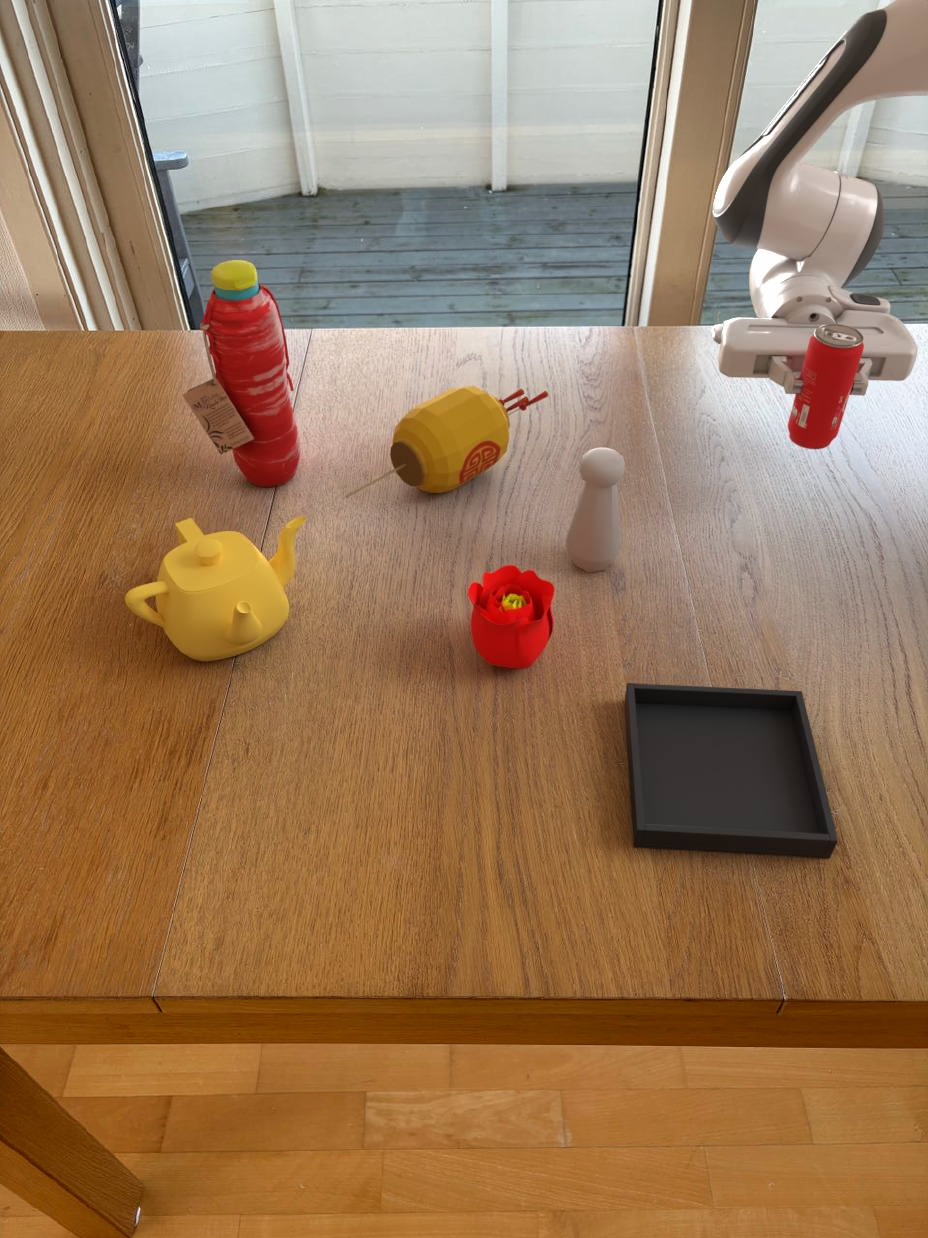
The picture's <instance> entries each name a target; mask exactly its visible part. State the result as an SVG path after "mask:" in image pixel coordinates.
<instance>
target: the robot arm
mask: <svg viewBox="0 0 928 1238" xmlns="http://www.w3.org/2000/svg"><path fill="white" fill-rule="evenodd" d="M900 97H928V0H893V2H891V3H889V4H888V5H886V6H885V7H883V8H881V9H876V10H872V11H869V12H866V13H863V15H861V16H860V17H858V18H857V19H856V20H855V21H854V22H853V23H852V24H851V25H850V26H849V27H848V28H847V30H846V31H844V32H843V34H842V35H841V36H840V37H839V38H838V39H837V41H835V43H834V44H833V45H832V46H831V47H830V48H829V50H828V51H827V52H826V53H825V55H824V56H823V57H822V58H820V60H819V62H818V63H817V64H816V65H815V67H814V68H813V69H812V70H811V72H810V73H809V74H808V75H807V77H806V78H805V79H804V80H803V81H802V82H801V84H800V85H799V87H798V88H797V89H796V90H795V92H794V93H793V94H792V95H791V96H790V97H789V99H788V100H787V102H785V104H784V105H783V106H782V108H781V109H780V110H779V111H778V113H777V114H776V115H775V117H774V118H773V119H772V120H771V122H769V124H768V125H767V127H765V129H764V130H763V131H762V132H761V134H760V135H759V136H758V137H756V139H755V140H754V141H753V142H752V143H751V144H750V145H749V146H748V147H747V148H745V150H744V151H742V152H741V154H739V156H738V157H736V159H735V160H734V161H733V162H732V163H731V165H729V167H728V169H727V170H726V172H725V174H724V175H723V177H722V179H721V181H720V183H719V185H718V188H717V191H716V194H715V197H714V200H713V204H712V215H713V219H714V221H715V224H716V226H717V228H718V230H719V232H720V234H721V236H722V237H723V238H724V240H725V241H726V242H727V244H729V245H733V246H738V247H742V248H747V249H752V250H756V249H757V251H756V252H755V254H754V255H753V258H752V259H751V263H750V268H749V276H748V278H749V279H748V283H749V284H748V285H749V287H748V288H749V295H750V299H751V303H752V307H753V310H754V312H755V315H756V316H757V317H734V318H730V319H728V320H724V321H723V323H719V324H714V325H713V326H712V328H711V331H710V332H711V336H712V340H713V342H715V343H716V344H717V345H719V349H718V354H717V355H718V356H717V365H718V371H719V373H721V375H724V376H725V377H728V378H741V379H742V378H743V379H745V378H746V379H769V380H770V381H771V382H774V383H775V384H777V385H779V386H780V387H782V388H783V391H784V393H785V395H796V394H801V391H802V389H801V388H802V387H803V383H804V381H803V378H802V376H801V372H802V368H803V364H804V360H805V356H806V352H807V348H808V344H809V341H810V338H811V336H812V335H813V334H814V331H815V330H816V329H817V328H818V327H820V326H822V325H826V324H841V325H846V326H849V327H852V328H855V329H857V330H858V331H859V332H861V333H862V335H863V337H864V340H863V344H864V349H863V352H862V355H861V359H860V362H859V365H858V369H857V372H856V375H855V379H854V382H853V385H852V388H851V392H850V395H849V396H860V397H861V396H862V397H863V396H865V395H866V393H867V390H868V386H869V381H879V382H880V381H887V382H903V381H905V380H906V379H907V378H908V377H910V375H911V373H912V372H913V369H914V366H915V363H916V361H917V356H918V345H917V342H916V341H915V339H914V337H913V336H912V334H911V332H910V331H909V330H908V328H907V326H906V325H905V324H904V323H903V322H902V321H901V320H900V319H899V318H897V317H896V316H895V315H892V314H890V313H891V303H890V301H889V300H887V299H886V298H882V297H878V296H877V297H876V296H870V295H867V294H866V295H865V294H862V293H861V294H860V293H855V292H852V291H850V290H846V289H844V288H846V287H847V286H849V285H850V284H851V283H852V282H854V280H855V279H857V277H859V275H860V274H861V273H862V272H863V271H865V268H866V267H867V266H868V265H869V263H870V261H871V260H872V258H873V257H874V255H875V253H876V251H877V249H878V247H879V246H880V243H881V240H882V238H883V234H884V231H885V223H886V222H885V221H886V220H885V209H884V202H883V197H882V194H881V192H880V190H879V188H878V186H877V185H876V183H873V182H869V181H867V180H864V179H862V178H861V179H860V178H858V177H855V176H852V175H848V174H846V173H842V172H840V171H837V170H836V171H833V170H831V169H828V168H824V167H822V166H818V165H815V164H812V163H809V162H807V161H802V159H803V158H804V157H805V156H806V155H807V154H808V152H809V151H810V150H811V149H812V148H813V147H814V146H815V144H817V142H818V141H819V140H820V138H821V137H822V136H823V135H824V134H825V133H826V132H827V130H828V129H829V128H830V127H831V126H832V125H833V123H835V121H836V120H837V119H838V118H839V117H840V116H841V115H843V114H844V113H845V112H847V111H849V110H850V109H852V108H854V107H856V106H859V105H861V104H864V103H868V102H872V101H878V100H883V99H890V98H891V99H892V98H900Z"/></svg>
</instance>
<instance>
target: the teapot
mask: <svg viewBox="0 0 928 1238" xmlns="http://www.w3.org/2000/svg"><path fill="white" fill-rule="evenodd" d="M306 520H307V516H306V515H301V516H298V517H294V518H293V519H292V520H290V521H288V522H287V523H286V524H285V525H284V526H283V528H282V529H281V531H280V534H279V539H278V547H277V551H276V553H275V554H274V555H273V557H271V559H269V560H268V559H267V558H266V557H265V556H264V554H263V553H262V552H261V551H260V550H259V549H258V547H256V545H254V543H252V542H251V541H250V540H249V539H248V538H247V537H246V536H245V535H244V534H243V533H241V532H239V531H236V530H235V531H234V530H224V531H217V532H212V533H208V534H204V533H203V532H202V530H201V529H200V527H199V526H198V525H197V523H196V522H195V521H194V519H193V518H192V517H189V518H186V519H184V520H181V521H178V522H176V523H174V527H175V530H176V536H177V541H178V546H176V547H175V548H173V549H172V550H170V551H168V553H166V555H164V557H163V559H162V561H161V563H160V567H159V570H158V575H157V579H156V581H154V582H150V583H146V584H142V585H138V586H135V587H133V588H131V589H130V590H129V591H128V592H126V594H125V597H124V601H125V604H126V606H127V607H128V609H129V610H130V611H131V612H132V613H133V614H135V615H136V616H138V618H139V617H140V618H141V619H143V620H145V621H148V622H150V623H152V624H154V625H156V626H159V627H160V628H162V629H163V631H164V633H165V635H166V636H167V637H168V639H169V641H170V642H171V643H172V644H173V645H174V646H175V648H176V649H178V651H179V652H180V653H182V654H183V655H186V656H187V657H188V658H190V659H193V660H195V661H199V662H213V661H219V660H225V659H228V658H232V657H235V656H240V655H243V654H245V653H247V652H249V651H251V650H253V649H256V648H257V647H259V646H261V645H262V644H264V643H265V642H267V641H269V640H271V638H273V637H274V636H275V635H276V634H277V633H279V631H280V630H281V629H282V628H283V626H284V625H285V624H286V621H287V619H288V617H289V613H290V604H289V599H288V597H287V594H286V591H285V588H286V587H287V586H288V585H289V583H290V582H291V580H292V579H293V577H294V574H295V570H296V556H295V538H296V535H297V532H298V531H299V529H300V528H301V527H302V525H303V524H304V523H306ZM151 597H155V604H156V610H157V611H156V610H154V609H153V608H151V607H150V606H149V605H148V603H147V602H146V601H145V600H146V599H149V598H151Z"/></svg>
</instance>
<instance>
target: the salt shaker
mask: <svg viewBox="0 0 928 1238" xmlns="http://www.w3.org/2000/svg"><path fill="white" fill-rule="evenodd" d="M625 470H626V461H625V459H624V458H623V456H622V455H621V453H619V451H616V449H612V448H609V447H594V448H591V449H590V450H588V451H587V452H585V453H583V454H582V457H581V460H580V463H579V474H580V476H581V479H582V480H583V482H582V486H581V490H580V493H579V496H578V499H577V503H576V505H575V509H574V511H573V516H572V519H571V523H570V526H569V529H568V532H567V535H566V538H565V545H566V546H565V547H566V548H567V552H568V555H569V556H570V558H571V560H572V563H573V565H574V566H576V567H578V568H580V569H581V570H584V571H585V572H587V573H593V572H602V571H606V570H607V569H608V567H609V565H611V563H613V561H615V559H616V558H617V557H618V556H619V555H620V554H621V553H620V552H621V550H622V546H623V543H624V540H623V529H622V528H623V527H622V517H621V508H620V496H619V495H620V493H619V483H620V482H621V481H622V480H623V477H624V474H625Z"/></svg>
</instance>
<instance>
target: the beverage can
mask: <svg viewBox="0 0 928 1238" xmlns="http://www.w3.org/2000/svg"><path fill="white" fill-rule="evenodd" d="M863 340H864V337H863V335H862V333H861V332H859V331H858V330H857V329H855V328H852V327H849V326H846V325H841V324H826V325H822V326H820V327H818V328H817V329H816V330H815V331H814V334H813V335H812V336H811V338H810V341H809V344H808V348H807V352H806V356H805V360H804V364H803V368H802V372H801V376H802V378H803V381H804V383H803V387H802V388H801V389H802V391H801V394H794V399H793V403H792V406H791V411H790V415H789V418H788V422H787V431H788V436H789V439H790V441H791V442H792V443H793V444H795V445H796V446H798V447H800V448H803V449H806V450H822V449H823V450H824V449H826V448H828V447H829V446H830V445H831V444H832V442H833V441H834V440H835V439H836V438H837V436H838V434H839V432H840V428H841V425H842V421H843V419H844V414H845V412H846V408H847V405H848V402H849V398H850V396H851V395H850V392H851V388H852V385H853V382H854V379H855V375H856V372H857V369H858V365H859V362H860V359H861V355H862V352H863V349H864V344H863Z"/></svg>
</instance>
